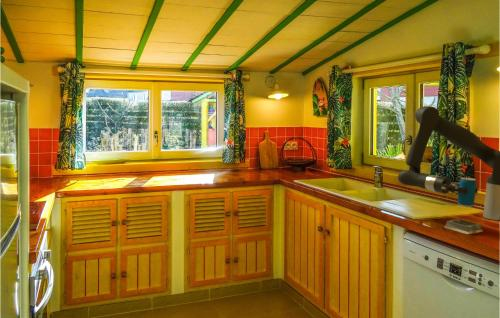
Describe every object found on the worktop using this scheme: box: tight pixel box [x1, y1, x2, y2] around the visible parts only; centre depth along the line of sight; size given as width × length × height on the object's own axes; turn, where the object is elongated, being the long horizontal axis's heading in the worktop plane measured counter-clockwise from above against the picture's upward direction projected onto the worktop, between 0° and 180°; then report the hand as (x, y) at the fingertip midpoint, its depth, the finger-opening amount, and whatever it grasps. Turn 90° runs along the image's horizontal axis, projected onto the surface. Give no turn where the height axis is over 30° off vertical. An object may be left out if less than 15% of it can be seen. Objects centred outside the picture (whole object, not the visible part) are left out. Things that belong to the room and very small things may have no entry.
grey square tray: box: [444, 218, 484, 235], centre depth 191 cm, size 11×11×3 cm
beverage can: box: [456, 177, 477, 208], centre depth 189 cm, size 6×6×12 cm
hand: (472, 191), depth 187 cm, fingers closed on beverage can, 6 cm apart
